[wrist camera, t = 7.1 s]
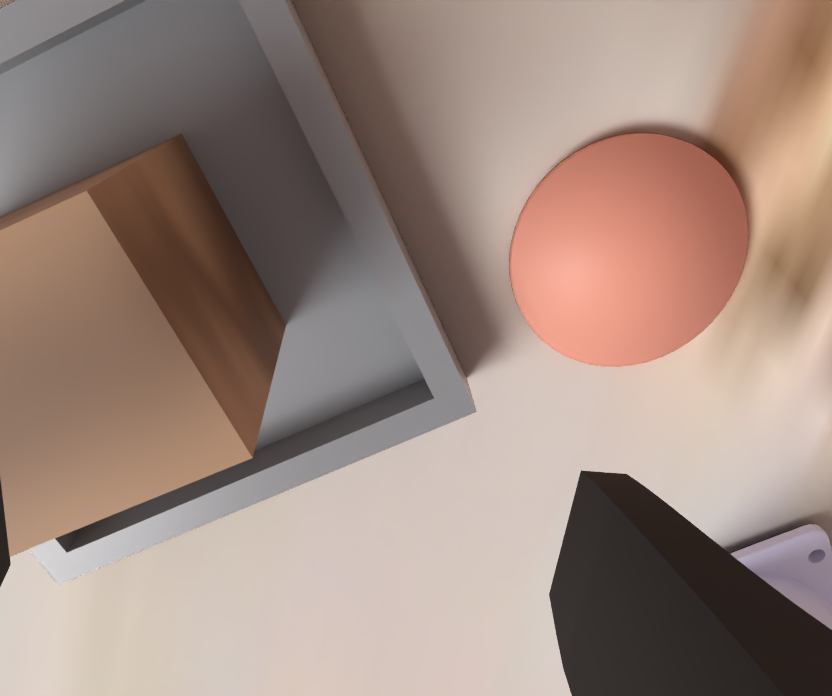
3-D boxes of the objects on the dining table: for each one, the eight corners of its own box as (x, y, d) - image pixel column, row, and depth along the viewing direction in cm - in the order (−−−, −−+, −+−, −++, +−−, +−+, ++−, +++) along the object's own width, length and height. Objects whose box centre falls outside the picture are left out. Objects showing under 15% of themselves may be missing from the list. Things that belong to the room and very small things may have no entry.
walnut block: (286, 325, 18) (252, 457, 12) (108, 400, 18) (1, 560, 13) (181, 133, 16) (86, 190, 10) (-15, 223, 16) (-204, 324, 11)
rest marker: (764, 308, 19) (770, 311, 19) (554, 394, 20) (556, 399, 20) (710, 90, 17) (717, 91, 17) (473, 197, 17) (475, 199, 17)
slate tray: (466, 379, 19) (476, 411, 18) (82, 541, 21) (58, 585, 19) (246, -98, 15) (232, -113, 13) (-235, 151, 16) (-303, 166, 14)
